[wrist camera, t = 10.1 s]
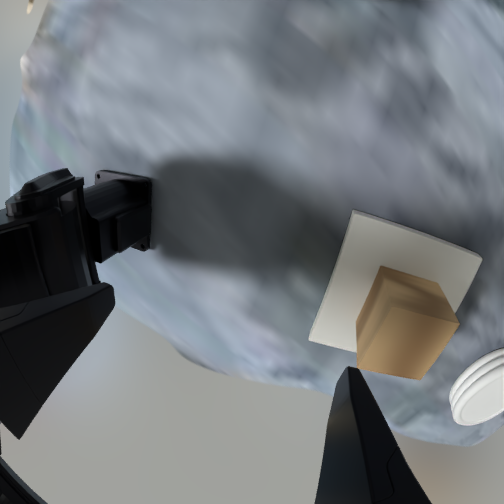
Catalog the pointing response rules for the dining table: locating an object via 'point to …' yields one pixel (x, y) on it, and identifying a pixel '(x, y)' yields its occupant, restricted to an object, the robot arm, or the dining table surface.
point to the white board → (392, 256)
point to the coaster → (479, 390)
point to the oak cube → (403, 325)
